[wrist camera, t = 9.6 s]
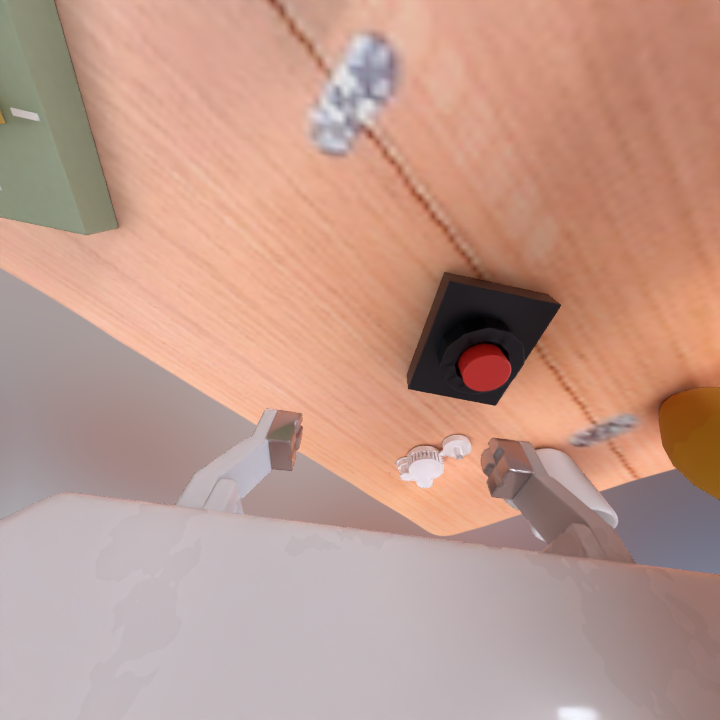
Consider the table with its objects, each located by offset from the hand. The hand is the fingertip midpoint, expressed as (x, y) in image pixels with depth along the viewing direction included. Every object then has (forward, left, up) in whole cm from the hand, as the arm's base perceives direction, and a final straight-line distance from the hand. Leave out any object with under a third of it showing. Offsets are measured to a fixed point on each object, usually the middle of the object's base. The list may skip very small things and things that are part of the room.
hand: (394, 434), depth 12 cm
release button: (+2, +8, -12) cm, 14 cm away
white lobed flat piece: (+20, +10, -15) cm, 27 cm away
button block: (+2, +8, -15) cm, 17 cm away
